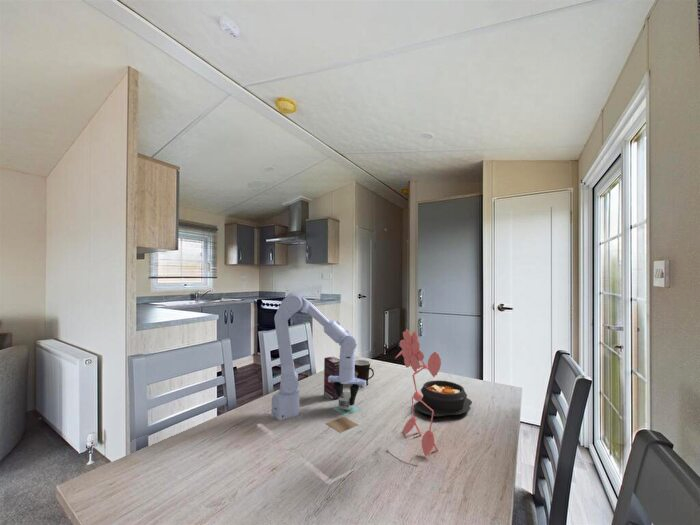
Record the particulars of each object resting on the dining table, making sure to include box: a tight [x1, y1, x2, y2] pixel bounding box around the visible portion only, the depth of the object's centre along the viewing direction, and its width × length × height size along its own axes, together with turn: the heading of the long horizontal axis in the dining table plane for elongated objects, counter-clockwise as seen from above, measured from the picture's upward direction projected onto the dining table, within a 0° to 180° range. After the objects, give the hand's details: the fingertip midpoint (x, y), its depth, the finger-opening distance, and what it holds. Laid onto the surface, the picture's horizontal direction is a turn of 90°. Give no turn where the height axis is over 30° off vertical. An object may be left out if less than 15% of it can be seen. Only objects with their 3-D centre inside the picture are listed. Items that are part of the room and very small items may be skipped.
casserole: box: [413, 380, 473, 417], centre depth 123 cm, size 25×19×8 cm
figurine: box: [387, 328, 442, 467], centre depth 97 cm, size 15×26×35 cm, turn 19°
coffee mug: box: [355, 359, 375, 388], centre depth 147 cm, size 12×9×10 cm
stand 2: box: [325, 416, 359, 434], centre depth 108 cm, size 8×8×1 cm
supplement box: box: [323, 356, 340, 401], centre depth 133 cm, size 9×5×16 cm, turn 31°
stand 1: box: [331, 404, 362, 417], centre depth 120 cm, size 8×8×1 cm
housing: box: [338, 390, 352, 410], centre depth 120 cm, size 6×4×4 cm, turn 160°
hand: (346, 403), depth 120 cm, fingers closed on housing, 4 cm apart
